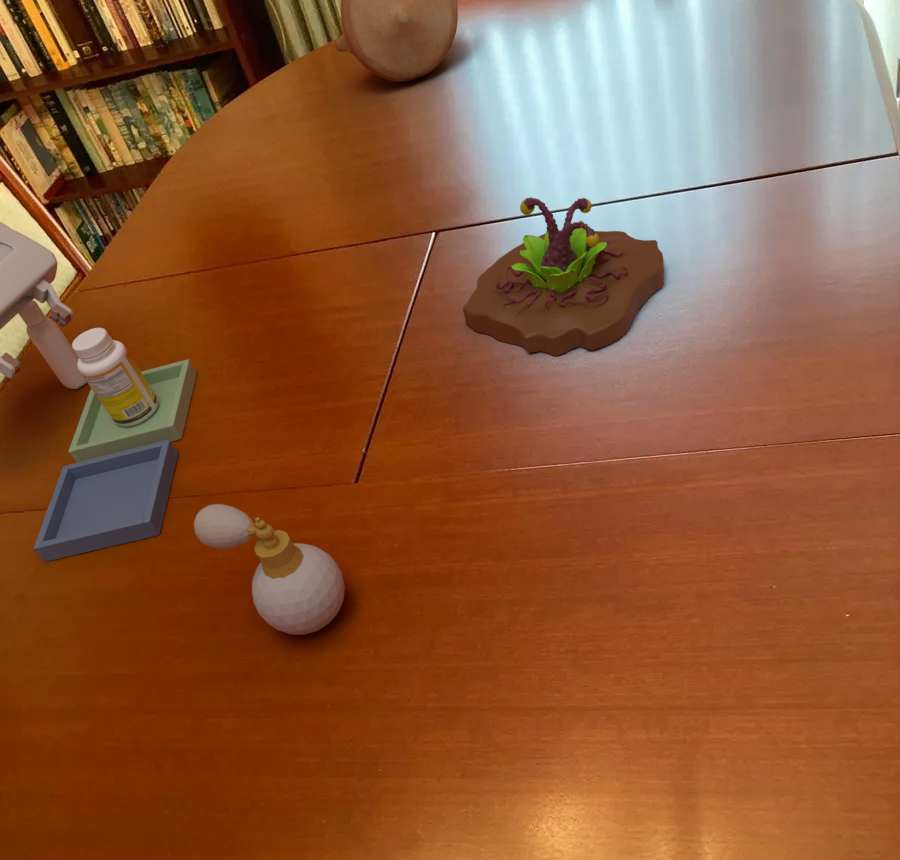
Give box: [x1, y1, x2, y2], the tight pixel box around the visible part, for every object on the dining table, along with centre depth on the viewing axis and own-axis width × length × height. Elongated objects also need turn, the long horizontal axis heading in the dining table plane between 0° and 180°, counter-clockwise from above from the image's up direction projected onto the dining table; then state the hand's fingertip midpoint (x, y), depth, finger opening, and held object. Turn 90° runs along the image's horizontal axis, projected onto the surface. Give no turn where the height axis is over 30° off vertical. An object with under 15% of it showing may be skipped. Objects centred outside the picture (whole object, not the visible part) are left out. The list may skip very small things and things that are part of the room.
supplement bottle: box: [71, 327, 158, 426], centre depth 98 cm, size 6×6×10 cm
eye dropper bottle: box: [17, 299, 88, 390], centre depth 107 cm, size 4×6×12 cm
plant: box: [462, 197, 665, 357], centre depth 91 cm, size 20×20×11 cm
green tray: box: [68, 358, 198, 463], centre depth 101 cm, size 13×13×2 cm
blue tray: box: [33, 440, 179, 563], centre depth 91 cm, size 13×13×2 cm
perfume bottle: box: [193, 503, 346, 636], centre depth 70 cm, size 8×10×12 cm
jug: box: [334, 0, 459, 83], centre depth 148 cm, size 20×19×30 cm
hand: (43, 344), depth 97 cm, fingers open, 8 cm apart
